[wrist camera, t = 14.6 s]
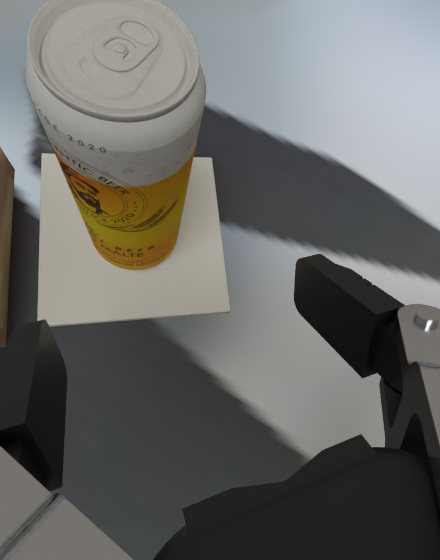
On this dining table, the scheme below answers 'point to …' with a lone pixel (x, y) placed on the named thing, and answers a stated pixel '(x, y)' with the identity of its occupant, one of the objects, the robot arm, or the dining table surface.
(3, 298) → the crate
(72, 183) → the beer can
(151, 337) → the dining table surface
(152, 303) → the mat
